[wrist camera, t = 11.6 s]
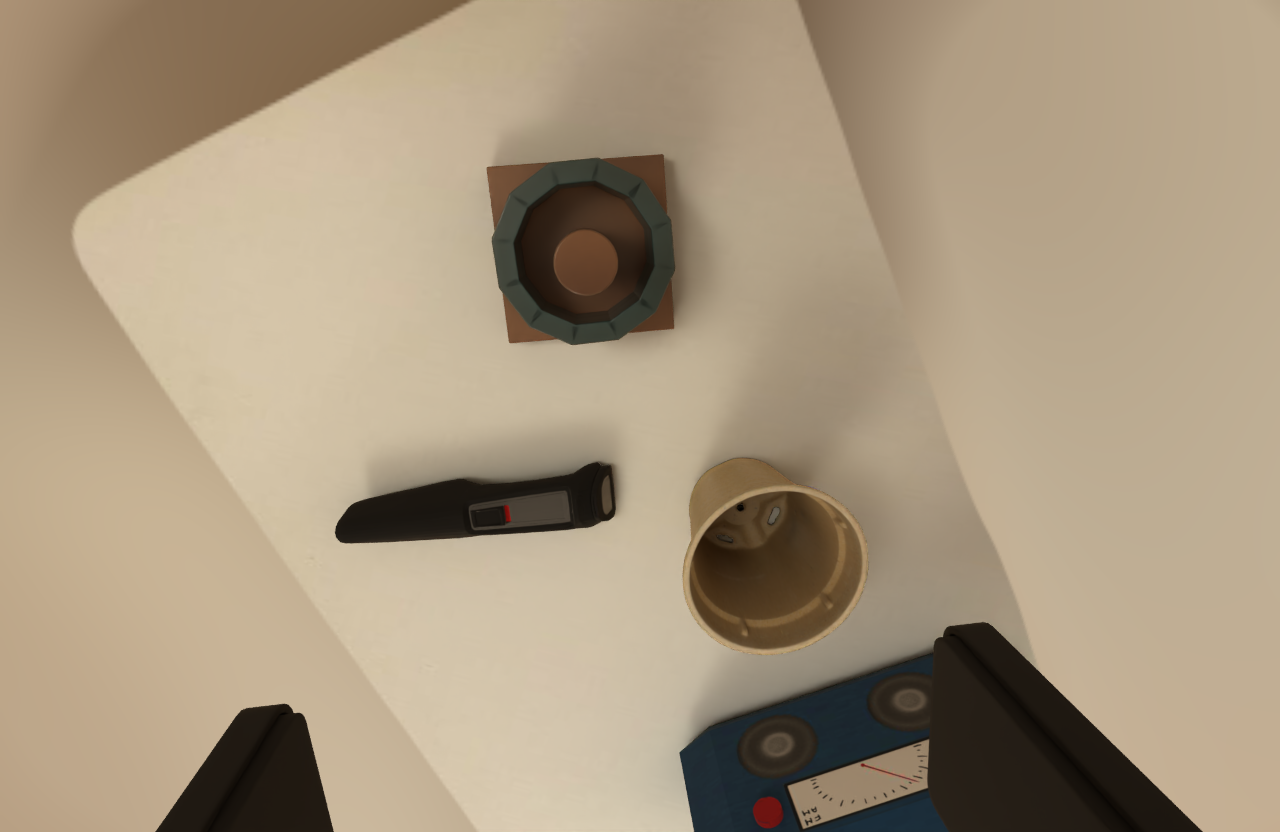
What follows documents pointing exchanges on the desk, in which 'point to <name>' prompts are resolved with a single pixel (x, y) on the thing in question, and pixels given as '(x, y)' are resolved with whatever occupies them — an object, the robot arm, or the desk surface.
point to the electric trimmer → (482, 508)
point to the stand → (582, 245)
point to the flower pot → (770, 560)
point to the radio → (821, 761)
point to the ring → (552, 316)
